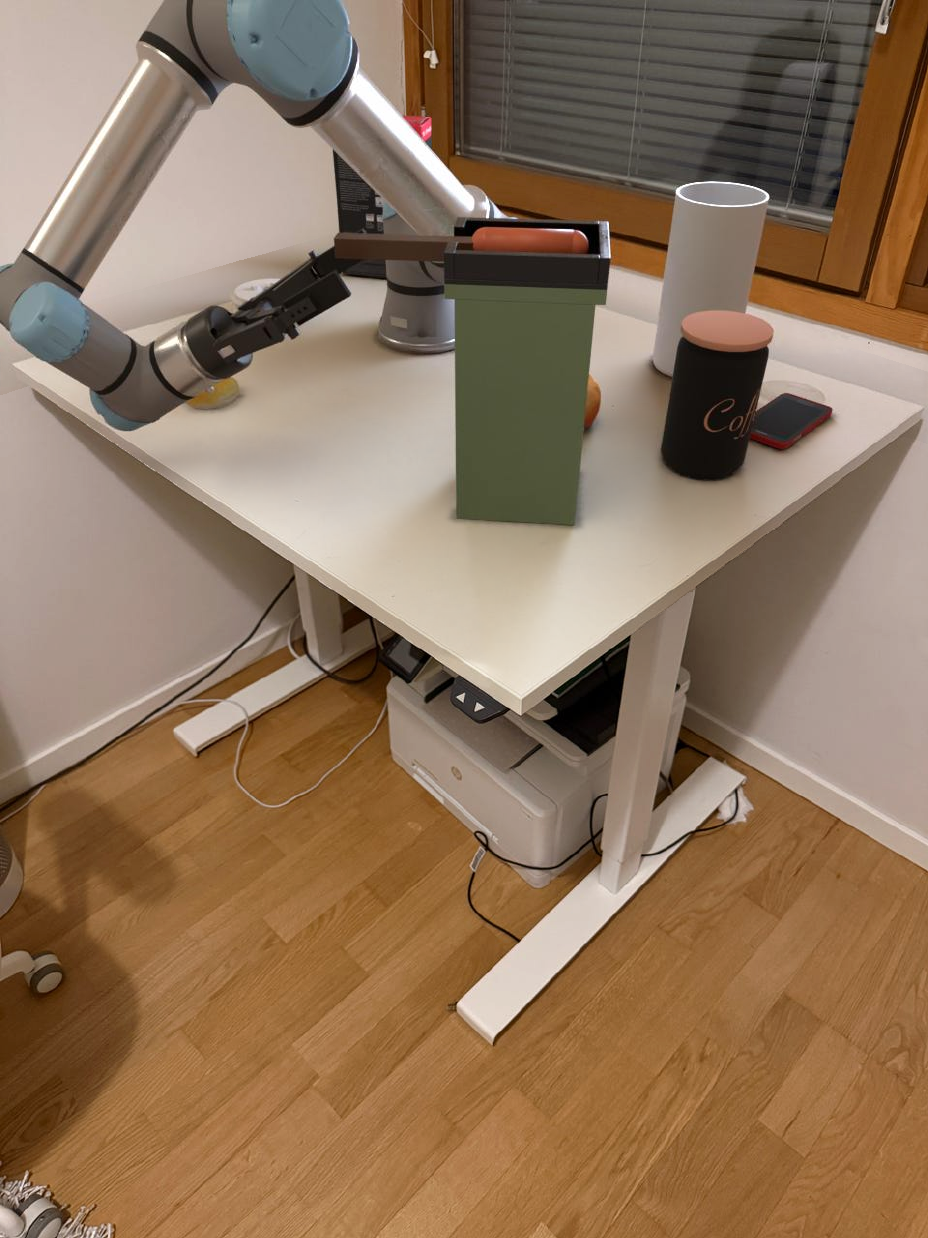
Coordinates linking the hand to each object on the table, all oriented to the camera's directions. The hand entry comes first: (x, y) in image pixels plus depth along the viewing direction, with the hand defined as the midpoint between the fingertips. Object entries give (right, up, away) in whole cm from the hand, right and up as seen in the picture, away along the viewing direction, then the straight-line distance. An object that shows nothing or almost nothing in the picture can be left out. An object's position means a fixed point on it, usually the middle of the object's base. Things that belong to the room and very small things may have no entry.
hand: (357, 260), depth 92 cm
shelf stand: (+18, -22, +16) cm, 33 cm away
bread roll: (-26, -5, +37) cm, 46 cm away
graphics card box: (-3, +29, +78) cm, 83 cm away
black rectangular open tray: (+18, -1, -1) cm, 18 cm away
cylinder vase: (+47, +2, +45) cm, 65 cm away
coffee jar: (+42, -17, +23) cm, 51 cm away
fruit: (+26, -10, +31) cm, 42 cm away
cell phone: (+56, -11, +30) cm, 64 cm away
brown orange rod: (+11, 0, -1) cm, 11 cm away
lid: (-23, +16, +62) cm, 68 cm away
